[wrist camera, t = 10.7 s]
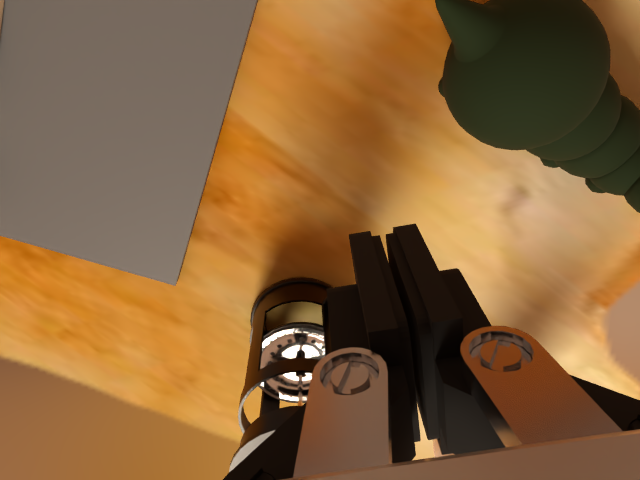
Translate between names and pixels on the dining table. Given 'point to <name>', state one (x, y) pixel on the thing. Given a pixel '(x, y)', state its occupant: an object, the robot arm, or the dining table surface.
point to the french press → (281, 359)
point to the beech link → (1, 12)
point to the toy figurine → (542, 88)
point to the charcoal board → (113, 123)
